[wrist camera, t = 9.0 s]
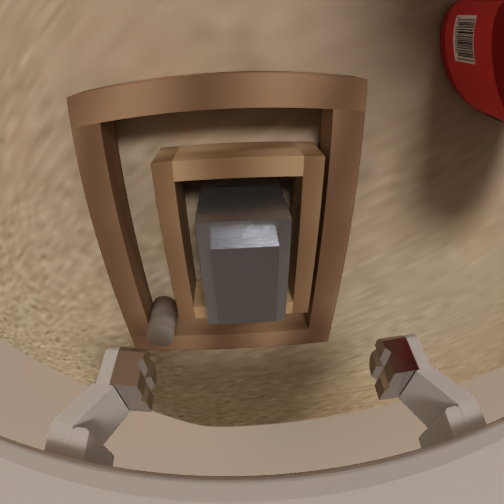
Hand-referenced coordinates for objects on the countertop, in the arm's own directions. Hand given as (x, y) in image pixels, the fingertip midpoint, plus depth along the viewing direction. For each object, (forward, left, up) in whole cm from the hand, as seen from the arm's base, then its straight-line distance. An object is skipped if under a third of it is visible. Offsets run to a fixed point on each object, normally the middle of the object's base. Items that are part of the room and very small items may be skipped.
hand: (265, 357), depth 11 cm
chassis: (+1, 0, -10) cm, 10 cm away
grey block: (0, 0, -10) cm, 10 cm away
